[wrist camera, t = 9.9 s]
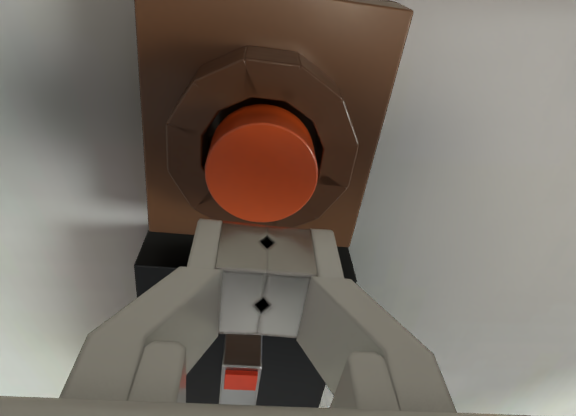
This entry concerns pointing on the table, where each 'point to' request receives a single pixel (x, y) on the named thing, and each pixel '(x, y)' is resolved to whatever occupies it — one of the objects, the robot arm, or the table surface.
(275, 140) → the button
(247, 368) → the silver bar
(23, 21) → the table surface
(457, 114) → the table surface
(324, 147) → the brown push button box
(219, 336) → the black block
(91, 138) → the table surface
